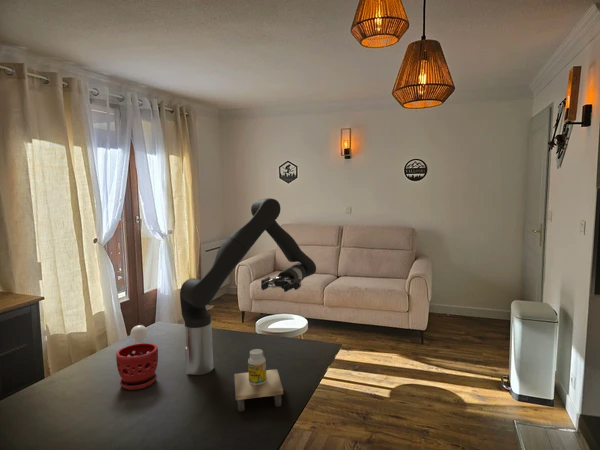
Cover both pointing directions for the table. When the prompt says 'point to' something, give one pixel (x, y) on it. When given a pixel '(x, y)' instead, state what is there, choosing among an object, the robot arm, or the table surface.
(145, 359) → the plant pot
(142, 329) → the lightbulb
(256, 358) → the supplement bottle
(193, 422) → the table surface
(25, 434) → the table surface
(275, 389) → the peg shelf
